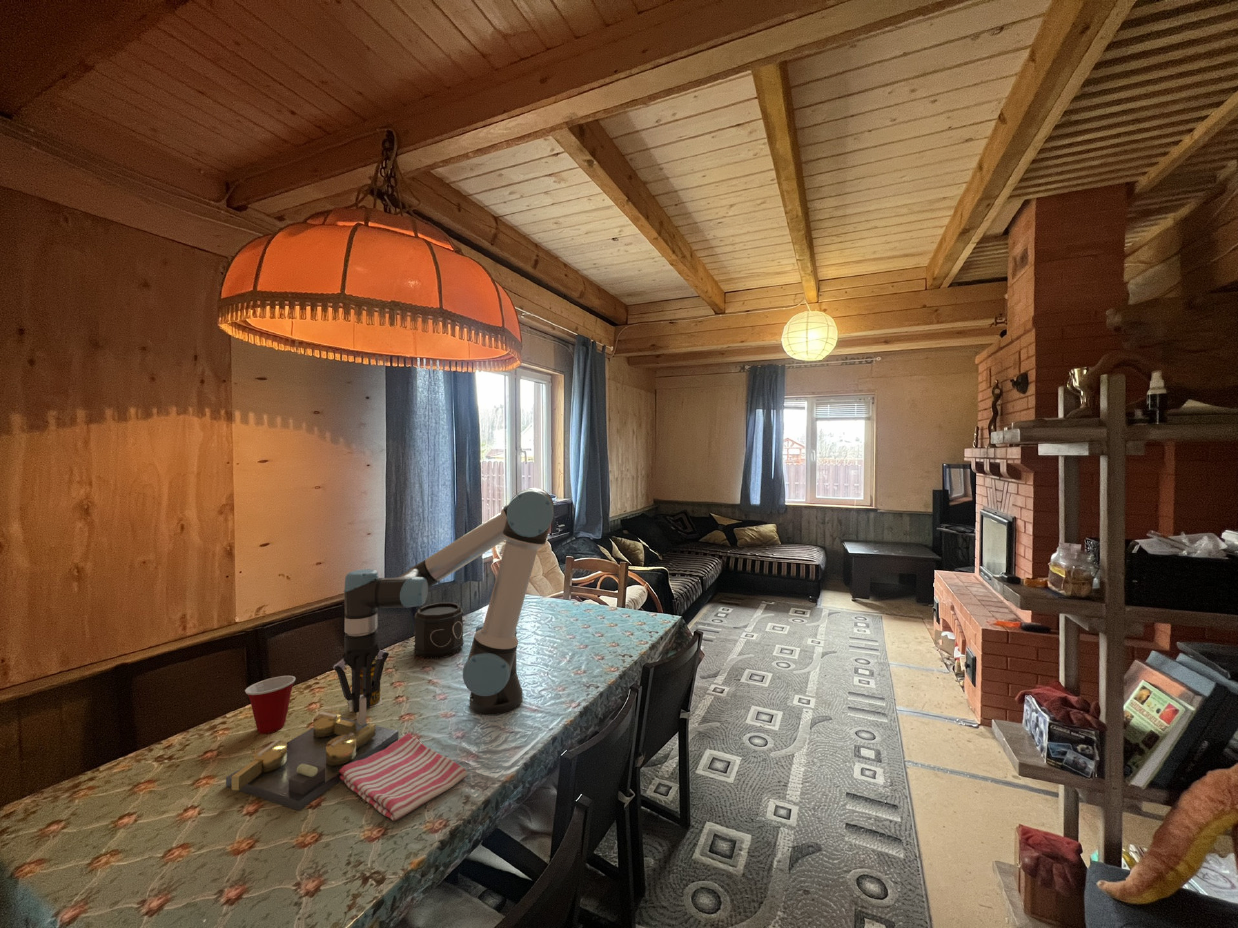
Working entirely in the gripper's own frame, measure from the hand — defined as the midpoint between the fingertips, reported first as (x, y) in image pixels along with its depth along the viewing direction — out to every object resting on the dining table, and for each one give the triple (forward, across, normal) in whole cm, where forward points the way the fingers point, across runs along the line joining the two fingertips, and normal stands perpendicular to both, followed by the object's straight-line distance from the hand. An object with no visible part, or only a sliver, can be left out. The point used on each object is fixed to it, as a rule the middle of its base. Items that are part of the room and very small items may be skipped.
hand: (361, 722), depth 120 cm
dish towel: (+4, -1, +25) cm, 25 cm away
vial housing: (+2, +15, +15) cm, 21 cm away
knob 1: (+1, +21, +3) cm, 22 cm away
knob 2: (+1, +5, -2) cm, 6 cm away
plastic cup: (+4, +15, -21) cm, 27 cm away
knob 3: (+1, +5, +9) cm, 10 cm away
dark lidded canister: (+4, -39, -39) cm, 56 cm away
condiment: (+4, -6, -17) cm, 19 cm away
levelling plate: (+4, +10, +4) cm, 12 cm away
